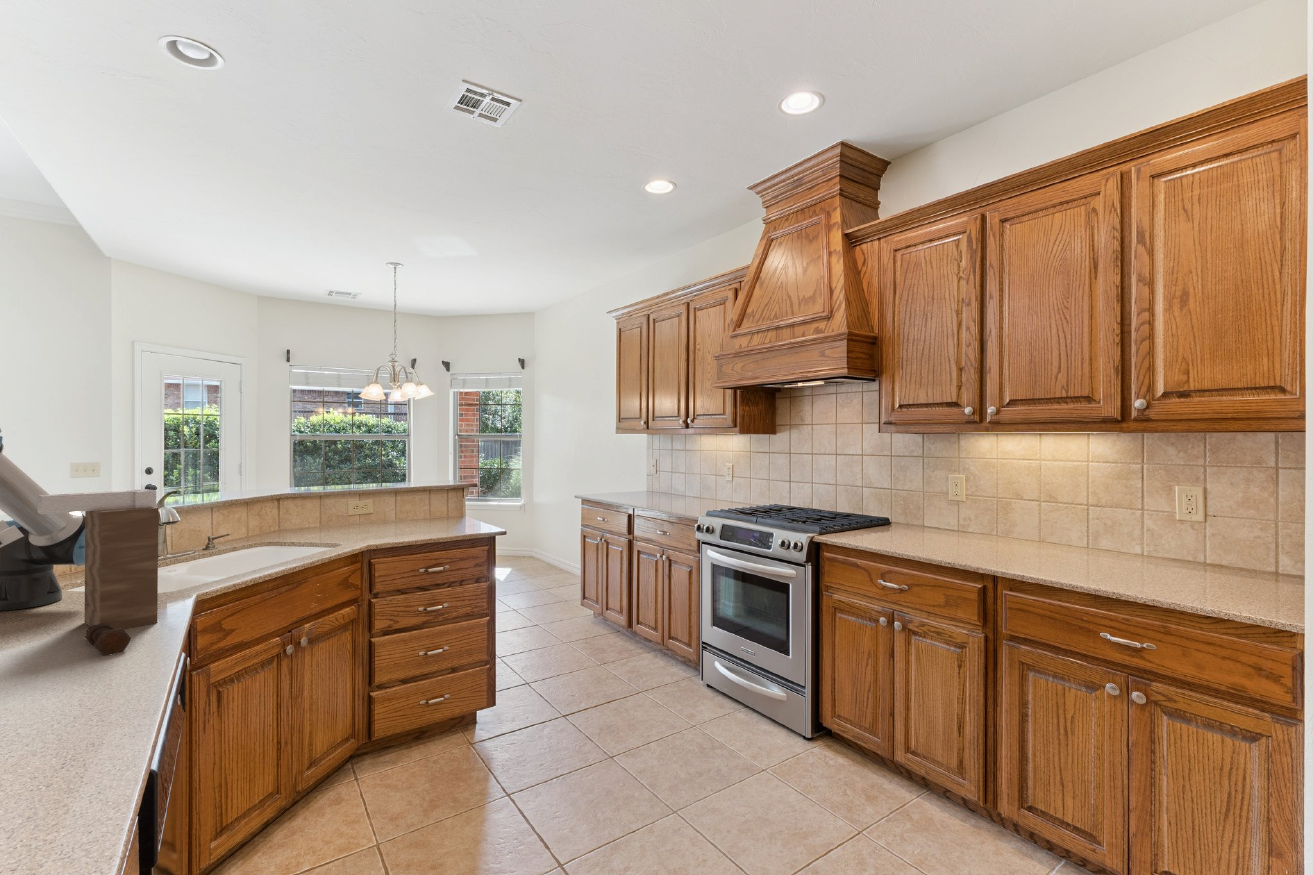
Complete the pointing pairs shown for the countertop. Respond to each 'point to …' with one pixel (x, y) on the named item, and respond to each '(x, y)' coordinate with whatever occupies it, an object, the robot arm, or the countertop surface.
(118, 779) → the countertop surface
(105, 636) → the bolt
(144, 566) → the wooden block
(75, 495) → the steel block
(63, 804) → the countertop surface
